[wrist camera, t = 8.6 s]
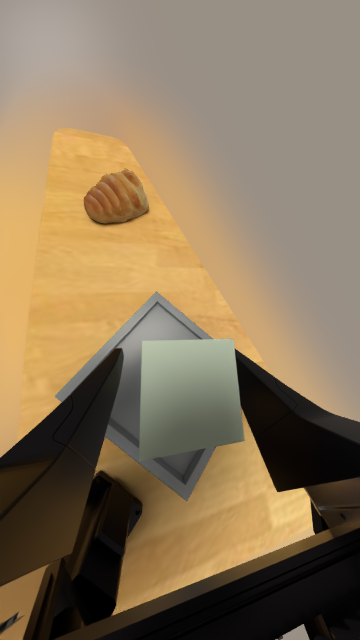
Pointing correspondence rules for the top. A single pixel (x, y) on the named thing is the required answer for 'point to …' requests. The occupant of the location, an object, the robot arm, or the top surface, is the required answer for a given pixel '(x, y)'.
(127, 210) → the pastry
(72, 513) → the robot arm
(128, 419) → the tray
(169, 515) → the top surface
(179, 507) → the top surface
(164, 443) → the block
